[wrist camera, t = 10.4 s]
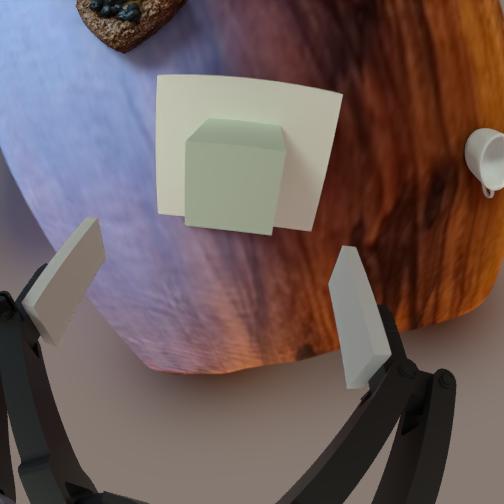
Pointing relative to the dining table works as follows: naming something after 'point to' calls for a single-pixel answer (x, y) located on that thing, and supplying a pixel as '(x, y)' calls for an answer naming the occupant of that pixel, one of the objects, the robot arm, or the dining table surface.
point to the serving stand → (254, 110)
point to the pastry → (126, 19)
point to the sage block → (233, 175)
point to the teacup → (486, 158)
